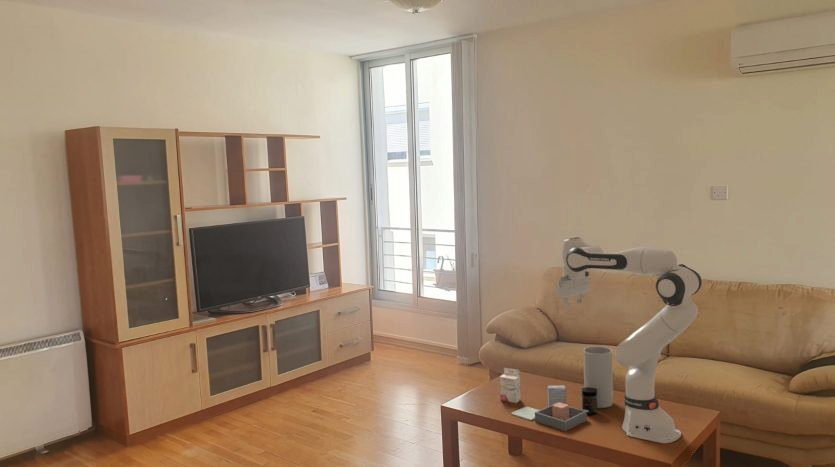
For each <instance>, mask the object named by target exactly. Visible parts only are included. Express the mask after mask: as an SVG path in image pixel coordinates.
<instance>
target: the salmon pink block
mask: <svg viewBox="0 0 835 467" xmlns="http://www.w3.org/2000/svg"><path fill="white" fill-rule="evenodd" d="M569 406H570V405H569V404H567V403H566V404H564V403H560V402H559V403H556V404H554V405H552V415H551V417H554V418H557V419H561V420H564V421H566V420H568V419H570V416H569Z"/></svg>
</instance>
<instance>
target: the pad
mask: <svg viewBox="0 0 835 467" xmlns="http://www.w3.org/2000/svg"><path fill="white" fill-rule="evenodd" d="M539 410H540V409H537V408H532V407H531V406H524V407H521V408H520V409H519V408H518V409H517V410H515V411H513V412H510V414H511V416H512V415H513V416H514V417H518V418H521V419H524V420H527V421H530V422H531V421H535V412H537V411H539Z"/></svg>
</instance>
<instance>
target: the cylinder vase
mask: <svg viewBox="0 0 835 467" xmlns="http://www.w3.org/2000/svg"><path fill="white" fill-rule="evenodd" d="M613 368H614V367H613V350H612V348H609V347H605V346H588V347H585V348H583V381H584V382H583V383H584V384H583V386H584V387H583V388H585V387H592V388H595V389H597V402H598V409H606V408H609V407H612V406H613V404H614V384H613V383H614V382H613V381H614V380H613V378H614V376H613V374H614V372H613Z"/></svg>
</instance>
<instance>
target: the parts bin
mask: <svg viewBox="0 0 835 467" xmlns="http://www.w3.org/2000/svg"><path fill="white" fill-rule="evenodd" d="M554 404H556V403H554ZM554 404H552V405H554ZM552 405H550V406H549V405H548V406H545V407H544V408H541V409H538V410H539V411H537V412H535V419H534V422H536V423H539V424H542V425H545V426H548V427H551V428H554V429H558V430H561V431H563V432H568V431H569V430H571V429H573V428H575V427H577V426H579V425H580V424H583V423H585V422H587V421H588V415H587V411H584V410H582V408H581V409H580V408H577V407H574V406H570V405H569V419H568V420H566V421H564V420H561V419H557V418H554V417H552Z"/></svg>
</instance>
